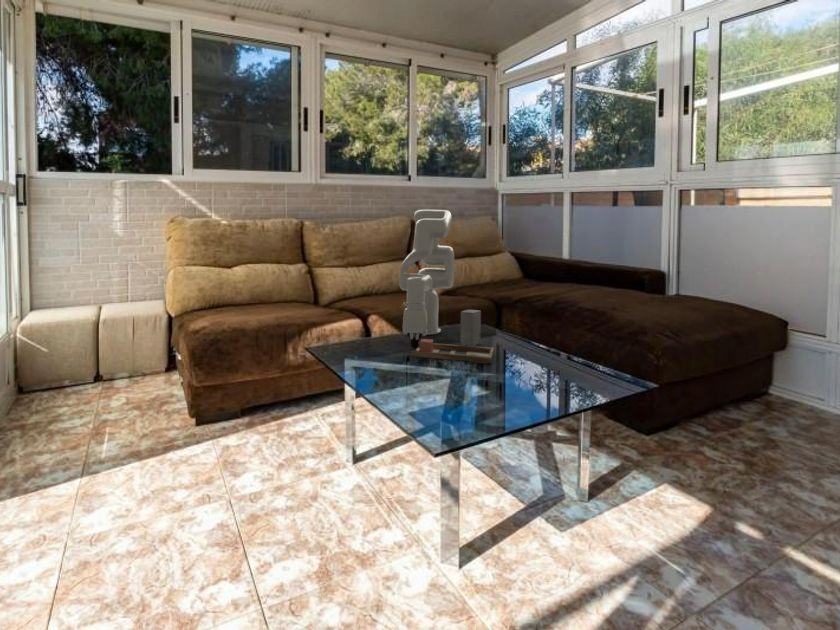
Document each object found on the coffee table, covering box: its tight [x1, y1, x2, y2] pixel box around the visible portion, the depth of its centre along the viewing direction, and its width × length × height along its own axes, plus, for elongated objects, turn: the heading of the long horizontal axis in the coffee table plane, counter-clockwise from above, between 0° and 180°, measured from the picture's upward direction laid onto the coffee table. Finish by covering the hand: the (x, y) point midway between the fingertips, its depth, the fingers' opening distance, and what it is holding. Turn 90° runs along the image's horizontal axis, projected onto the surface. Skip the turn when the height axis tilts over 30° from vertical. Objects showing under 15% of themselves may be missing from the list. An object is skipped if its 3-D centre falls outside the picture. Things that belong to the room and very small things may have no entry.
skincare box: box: [460, 309, 482, 346], centre depth 252 cm, size 8×7×16 cm
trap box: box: [410, 341, 495, 364], centre depth 236 cm, size 15×33×3 cm, turn 78°
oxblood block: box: [419, 338, 434, 352], centre depth 238 cm, size 5×5×5 cm
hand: (414, 347), depth 239 cm, fingers closed
